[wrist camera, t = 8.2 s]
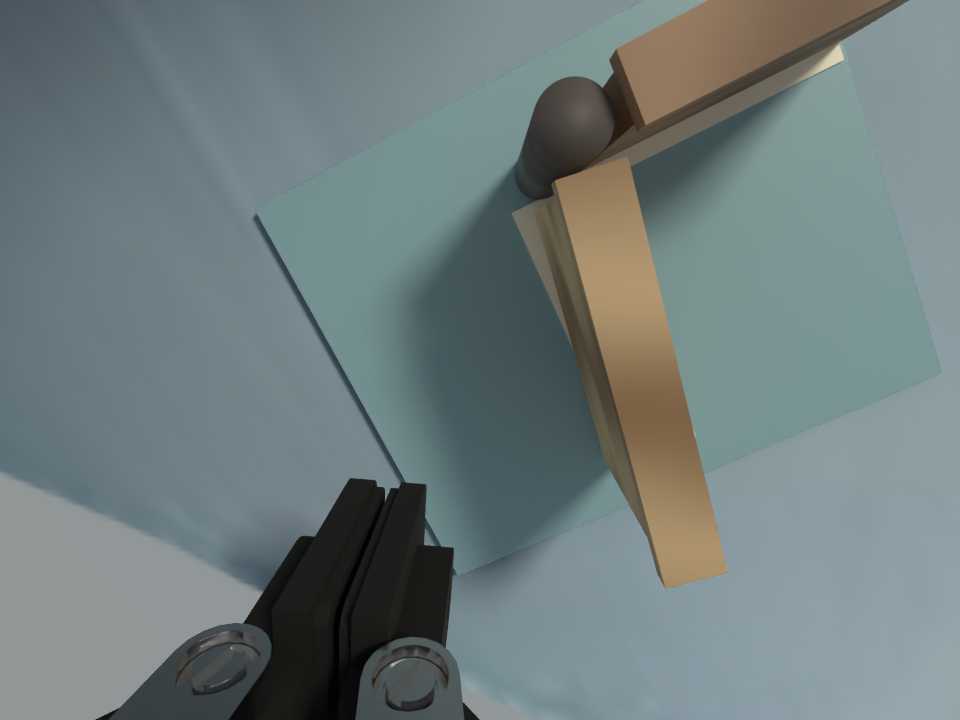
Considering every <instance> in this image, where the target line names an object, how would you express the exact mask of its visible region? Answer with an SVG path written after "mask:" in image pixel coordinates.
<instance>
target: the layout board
mask: <svg viewBox="0 0 960 720" xmlns="http://www.w3.org/2000/svg"><path fill="white" fill-rule="evenodd" d="M706 1H708V0H643V1H642V2H640V3H638V4H636V5H634V6H632V7H630V8H629V9H627V10H625V11H623V12H621V13H619V14H617V15H615V16H614V17H612V18H610V19H608V20H606V21H604V22H602V23H601V24H599V25H597V26H595V27H593V28H591V29H589V30H587V31H586V32H584V33H582V34H580V35H578V36H576V37H574V38H573V39H571V40H569V41H567V42H565V43H563V44H561V45H559V46H558V47H556V48H554V49H552V50H550V51H548V52H546V53H545V54H543V55H541V56H539V57H537V58H535V59H533V60H532V61H530V62H528V63H526V64H524V65H522V66H520V67H518V68H517V69H515V70H513V71H511V72H509V73H507V74H505V75H504V76H502V77H500V78H498V79H496V80H494V81H492V82H490V83H489V84H487V85H485V86H483V87H481V88H479V89H477V90H476V91H474V92H472V93H470V94H468V95H466V96H464V97H462V98H461V99H459V100H457V101H455V102H453V103H451V104H449V105H448V106H446V107H444V108H442V109H440V110H438V111H436V112H434V113H433V114H431V115H429V116H427V117H425V118H423V119H421V120H420V121H418V122H416V123H414V124H412V125H410V126H408V127H406V128H405V129H403V130H401V131H399V132H397V133H395V134H393V135H392V136H390V137H388V138H386V139H384V140H382V141H380V142H379V143H377V144H375V145H373V146H371V147H369V148H367V149H365V150H364V151H362V152H360V153H358V154H356V155H354V156H352V157H351V158H349V159H347V160H345V161H343V162H341V163H339V164H337V165H336V166H334V167H332V168H330V169H328V170H326V171H324V172H323V173H321V174H319V175H317V176H315V177H313V178H311V179H309V180H308V181H306V182H304V183H302V184H300V185H298V186H296V187H295V188H293V189H291V190H289V191H287V192H285V193H283V194H281V195H280V196H278V197H276V198H274V199H272V200H270V201H268V202H267V203H265V204H263V205H261V206H259V207H257V208H255V209H254V210H255V211H256V213H257V215H258V217H259V219H260V220H261V222H262V224H263V226H264V228H265V229H266V231H267V233H268V235H269V237H270V238H271V240H272V242H273V244H274V246H275V247H276V249H277V251H278V253H279V255H280V256H281V258H282V260H283V262H284V264H285V265H286V267H287V269H288V271H289V273H290V274H291V276H292V278H293V280H294V282H295V283H296V285H297V287H298V289H299V291H300V292H301V294H302V296H303V298H304V300H305V301H306V303H307V305H308V307H309V309H310V310H311V312H312V314H313V316H314V318H315V319H316V321H317V323H318V325H319V327H320V328H321V330H322V332H323V334H324V336H325V337H326V339H327V341H328V343H329V345H330V346H331V348H332V350H333V352H334V354H335V355H336V357H337V359H338V361H339V363H340V364H341V366H342V368H343V370H344V372H345V373H346V375H347V377H348V379H349V381H350V382H351V384H352V386H353V388H354V390H355V392H356V393H357V395H358V397H359V399H360V401H361V402H362V404H363V406H364V408H365V410H366V411H367V413H368V415H369V417H370V419H371V420H372V422H373V424H374V426H375V428H376V429H377V431H378V433H379V435H380V437H381V438H382V440H383V442H384V444H385V446H386V447H387V449H388V451H389V453H390V455H391V456H392V458H393V460H394V462H395V464H396V465H397V467H398V469H399V471H400V473H401V474H402V476H403V478H404V480H405V482H406V483H418V484H426V487H427V492H426V513H425V518H426V519H427V521H428V523H429V525H430V527H431V528H432V530H433V532H434V534H435V536H436V537H437V539H438V541H439V543H440V545H441V546H442V547H453V548H454V560H453V568H454V570H455V572H456V573H457V575H458V576H460V575H463V574H465V573H467V572H470V571H472V570H474V569H477V568H479V567H482V566H484V565H486V564H489V563H491V562H493V561H496V560H498V559H501V558H503V557H505V556H508V555H510V554H513V553H515V552H517V551H520V550H522V549H524V548H527V547H529V546H532V545H534V544H536V543H539V542H541V541H544V540H546V539H548V538H551V537H553V536H555V535H558V534H560V533H563V532H565V531H567V530H570V529H572V528H574V527H577V526H579V525H582V524H584V523H586V522H589V521H591V520H594V519H596V518H598V517H601V516H603V515H605V514H608V513H610V512H613V511H615V510H617V509H620V508H622V507H625V506H627V505H629V504H628V502H627V500H626V498H625V496H624V495H623V493H622V491H621V489H620V487H619V486H618V484H617V482H616V480H615V479H614V477H613V475H612V473H611V471H610V470H609V468H608V466H607V464H606V462H605V460H604V456H603V453H602V449H601V446H600V442H599V439H598V435H597V432H596V428H595V424H594V421H593V417H592V414H591V410H590V407H589V403H588V400H587V396H586V393H585V389H584V386H583V382H582V378H581V375H580V371H579V368H578V364H577V361H576V357H575V354H574V350H573V347H572V343H571V340H570V336H569V332H568V329H567V325H566V322H565V318H564V315H563V311H562V308H561V304H560V301H559V297H558V294H557V290H556V287H555V283H554V279H553V276H552V272H551V269H550V265H549V262H548V258H547V255H546V251H545V248H544V244H543V241H542V237H541V233H540V230H539V226H538V223H537V219H536V216H535V213H536V212H538V211H539V210H540V209H541V208H542V207H543V206H545V205H546V204H547V203H548V202H549V201H550V200H552V199H553V198H554V197H555V196H554V195H553V196H551V197H549V198H546V199H539V200H536V199H531V198H529V197H527V196H526V195H524V194H523V193H522V192H521V191H520V189H519V188H518V186H517V183H516V180H515V168H516V165H517V162H518V158H519V155H520V152H521V149H522V146H523V143H524V139H525V136H526V133H527V130H528V127H529V124H530V121H531V117H532V114H533V111H534V108H535V105H536V103H537V101H538V99H539V97H540V96H541V94H542V93H543V92H544V91H545V89H546V88H547V87H549V86H550V85H551V84H552V83H554V82H556V81H558V80H560V79H562V78H566V77H571V76H579V77H585V78H588V79H591V80H593V81H595V82H596V83H598V84H599V85H600V86H601V87H602V88H603V87H604V85H605V84H606V82H607V81H608V79H609V78H610V76H611V75H612V74H613V72H614V71H613V69H612V66H611V64H610V61H609V59H610V58H611V56H612V55H613V53H614V51H615V50H616V49H617V48H619V47H620V46H622V45H624V44H626V43H628V42H630V41H632V40H634V39H636V38H637V37H639V36H641V35H643V34H645V33H647V32H649V31H651V30H653V29H654V28H656V27H658V26H660V25H662V24H664V23H666V22H668V21H670V20H672V19H673V18H675V17H677V16H679V15H681V14H683V13H685V12H687V11H689V10H690V9H692V8H694V7H696V6H698V5H700V4H702V3H704V2H706ZM627 156H628V159H629V163H630V168H631V172H632V176H633V180H634V184H635V188H636V193H637V197H638V201H639V205H640V209H641V213H642V218H643V222H644V226H645V230H646V234H647V238H648V243H649V247H650V251H651V255H652V259H653V264H654V268H655V272H656V276H657V280H658V284H659V289H660V293H661V297H662V301H663V305H664V309H665V314H666V318H667V322H668V326H669V330H670V334H671V339H672V343H673V347H674V351H675V355H676V360H677V364H678V368H679V372H680V376H681V380H682V385H683V389H684V393H685V397H686V401H687V405H688V410H689V414H690V418H691V422H692V426H693V430H694V435H695V439H696V443H697V447H698V451H699V455H700V460H701V464H702V468H703V472H704V473H706V472H708V471H710V470H713V469H715V468H717V467H720V466H722V465H725V464H727V463H729V462H732V461H734V460H736V459H739V458H741V457H744V456H746V455H748V454H751V453H753V452H756V451H758V450H760V449H763V448H765V447H767V446H770V445H772V444H775V443H777V442H779V441H782V440H784V439H787V438H789V437H791V436H794V435H796V434H798V433H801V432H803V431H806V430H808V429H810V428H813V427H815V426H817V425H820V424H822V423H825V422H827V421H829V420H832V419H834V418H837V417H839V416H841V415H844V414H846V413H848V412H851V411H853V410H856V409H858V408H860V407H863V406H865V405H868V404H870V403H872V402H875V401H877V400H879V399H882V398H884V397H887V396H889V395H891V394H894V393H896V392H898V391H901V390H903V389H906V388H908V387H910V386H913V385H915V384H918V383H920V382H922V381H925V380H927V379H929V378H932V377H934V376H937V375H939V374H941V373H942V370H941V367H940V363H939V360H938V357H937V353H936V350H935V347H934V343H933V340H932V337H931V333H930V330H929V327H928V323H927V320H926V317H925V313H924V310H923V307H922V303H921V300H920V297H919V294H918V290H917V287H916V284H915V280H914V277H913V274H912V270H911V267H910V264H909V260H908V257H907V254H906V250H905V247H904V244H903V240H902V237H901V234H900V230H899V227H898V224H897V220H896V217H895V214H894V210H893V207H892V204H891V200H890V197H889V194H888V190H887V187H886V184H885V180H884V177H883V174H882V170H881V167H880V164H879V160H878V157H877V154H876V150H875V147H874V144H873V140H872V137H871V134H870V130H869V127H868V124H867V120H866V117H865V114H864V110H863V107H862V104H861V100H860V97H859V94H858V90H857V87H856V84H855V80H854V77H853V74H852V70H851V67H850V64H849V60H848V57H847V54H846V50H845V47H844V44H843V41H840V42H838V43H836V44H834V45H832V46H830V47H828V48H826V49H824V50H822V51H820V52H818V53H816V54H814V55H812V56H810V57H808V58H806V59H804V60H802V61H800V62H798V63H796V64H794V65H793V66H791V67H789V68H787V69H785V70H783V71H781V72H779V73H777V74H775V75H773V76H771V77H769V78H767V79H765V80H763V81H761V82H759V83H757V84H755V85H753V86H751V87H749V88H747V89H745V90H743V91H741V92H739V93H737V94H735V95H733V96H731V97H729V98H727V99H725V100H723V101H721V102H719V103H717V104H715V105H713V106H711V107H709V108H707V109H705V110H703V111H701V112H699V113H697V114H695V115H693V116H691V117H689V118H687V119H685V120H683V121H681V122H679V123H677V124H675V125H673V126H671V127H669V128H667V129H665V130H663V131H661V132H659V133H657V134H655V135H653V136H651V137H649V138H647V139H645V140H643V141H641V142H640V143H638V144H636V145H634V146H632V147H630V148H628V149H626V150H624V151H622V152H620V153H618V154H616V155H614V156H612V157H610V158H608V159H606V160H604V161H602V162H600V163H598V164H596V165H594V166H592V167H590V168H588V169H591V168H594V167H597V166H600V165H603V164H606V163H609V162H612V161H615V160H618V159H621V158H624V157H627ZM588 169H586V170H588ZM584 171H585V170H584Z"/></svg>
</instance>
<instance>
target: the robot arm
mask: <svg viewBox="0 0 960 720" xmlns="http://www.w3.org/2000/svg"><path fill="white" fill-rule="evenodd" d="M426 492H427V487H426V484H418V483H405V482H401V484H400V487H399V489H397V488H391V489H390V492H389V494H388V496H387V499H386V501H385V489H384V487H377V483H376V480H366V479H353V478H350V479H349V480H348V482H347V484H346V485H345V487H344V489H343V490H342V492H341V494H340V496H339V497H338V499H337V501H336V502H335V504H334V506H333V507H332V509H331V511H330V512H329V514H328V516H327V517H326V519H325V521H324V523H323V524H322V526H321V528H320V529H319V531H318V533H317V534H316V536H315V537H311V536H301V537H300V538H299V539H298V540H297V541H296V543H295V544H294V546H293V547H292V549H291V550H290V552H289V553H288V555H287V556H286V558H285V560H284V561H283V563H282V564H281V566H280V567H279V569H278V570H277V572H276V573H275V575H274V577H273V578H272V580H271V581H270V583H269V584H268V586H267V587H266V589H265V591H264V592H263V594H262V595H261V597H260V598H259V600H258V602H257V603H256V605H255V606H254V608H253V609H252V611H251V612H250V614H249V615H248V617H247V619H246V620H245V622H244V623H243V624H240V623H233V624H226V625H220V626H217V627H214V628H211V629H208V630H205V631H203V632H201V633H199V634H198V635H196V636H194V637H192V638H190V639H189V640H187V641H186V642H185V643H184V644H182V645H181V646H180V647H179V648H178V649H177V650H175V651H174V652H173V653H172V655H170V657H169V658H168V659H167V660H166V661H165V662H164V663H163V664H162V665H161V666H160V667H159V668H158V669H157V670H156V671H155V672H154V673H153V674H152V675H151V676H150V677H149V678H148V679H147V680H146V682H144V683H143V685H141V687H140V688H139V689H138V690H137V691H136V692H135V693H134V694H133V695H132V696H131V697H130V698H129V699H128V700H127V701H126V702H125V703H124V704H123V705H122V706H121V707H120V708H118V709H116V710H114V711H112V712H110V713H108V714H106V715H104V716H102V717H100V718H98V719H96V720H479V719H478V718H477V717H476V715H475V714H474V713H473V712H472V711H471V710H470V709H469V708H468V707H467V706H466V705H465V704H464V703H463V702H462V692H461V682H460V673H459V669H458V666H457V662H456V660H455V659H454V657H453V656H452V654H451V653H450V652H449V650H447V649H446V639H447V630H448V621H449V612H450V601H451V589H452V575H453V560H454V548H453V547H440V546H427V545H424V533H425V513H426Z"/></svg>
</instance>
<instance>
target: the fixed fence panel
mask: <svg viewBox="0 0 960 720" xmlns="http://www.w3.org/2000/svg"><path fill="white" fill-rule="evenodd" d="M907 1H909V0H708V1H706V2H704V3H702V4H700V5H698V6H696V7H694V8H692V9H690V10H689V11H687V12H685V13H683V14H681V15H679V16H677V17H675V18H673V19H672V20H670V21H668V22H666V23H664V24H662V25H660V26H658V27H656V28H654V29H653V30H651V31H649V32H647V33H645V34H643V35H641V36H639V37H637V38H636V39H634V40H632V41H630V42H628V43H626V44H624V45H622V46H620V47H619V48H617V49H616V50H615V51H614V53H613V55H612V56H611V58H610V59H609V61H610V64H611V66H612V69H613V71H614V72H613V74H612V75H611V76H610V78H609V79H608V81H607V82H606V84H605V85H604V87H603V88H602V87H601V86H600V85H599V84H598V83H596V82H595V81H593V80H591V79H588V78H585V77H579V76H571V77H566V78H562V79H560V80H558V81H556V82H554V83H552V84H551V85H550V86H549V87H547V88H546V89H545V91H544V92H543V93H542V94H541V96H540V97H539V99H538V101H537V103H536V105H535V108H534V111H533V114H532V117H531V121H530V124H529V127H528V130H527V133H526V136H525V139H524V143H523V146H522V149H521V152H520V155H519V158H518V162H517V165H516V168H515V180H516V183H517V186H518V188H519V189H520V191H521V192H522V193H523V194H524V195H526V196H527V197H529V198H531V199H536V200H539V199H546V198H549V197H551V196H553V195H554V192H553V189H552V185H551V184H552V183H553V182H554V181H555V180H558V179H561V178H564V177H567V176H570V175H573V174H576V173H579V172H582V171H584V170H586V169H588V168H590V167H592V166H594V165H596V164H598V163H600V162H602V161H604V160H606V159H608V158H610V157H612V156H614V155H616V154H618V153H620V152H622V151H624V150H626V149H628V148H630V147H632V146H634V145H636V144H638V143H640V142H641V141H643V140H645V139H647V138H649V137H651V136H653V135H655V134H657V133H659V132H661V131H663V130H665V129H667V128H669V127H671V126H673V125H675V124H677V123H679V122H681V121H683V120H685V119H687V118H689V117H691V116H693V115H695V114H697V113H699V112H701V111H703V110H705V109H707V108H709V107H711V106H713V105H715V104H717V103H719V102H721V101H723V100H725V99H727V98H729V97H731V96H733V95H735V94H737V93H739V92H741V91H743V90H745V89H747V88H749V87H751V86H753V85H755V84H757V83H759V82H761V81H763V80H765V79H767V78H769V77H771V76H773V75H775V74H777V73H779V72H781V71H783V70H785V69H787V68H789V67H791V66H793V65H794V64H796V63H798V62H800V61H802V60H804V59H806V58H808V57H810V56H812V55H814V54H816V53H818V52H820V51H822V50H824V49H826V48H828V47H830V46H832V45H834V44H836V43H838V42H840V41H842V40H844V39H845V38H847V37H849V36H850V35H852V34H854V33H855V32H857V31H859V30H860V29H862V28H864V27H865V26H867V25H869V24H870V23H872V22H874V21H875V20H877V19H879V18H880V17H882V16H884V15H885V14H887V13H889V12H890V11H892V10H894V9H895V8H897V7H899V6H900V5H902V4H904V3H905V2H907Z"/></svg>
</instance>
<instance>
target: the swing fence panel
mask: <svg viewBox="0 0 960 720" xmlns="http://www.w3.org/2000/svg"><path fill="white" fill-rule="evenodd" d="M551 185H552V189H553V192H554V196H555V197H554V198H553V199H552V200H550V201H549V202H548V203H547V204H546V205H545V206H543V207H542V208H541V209H540V210H539V211H538V212H536V213H535V216H536V219H537V223H538V226H539V230H540V233H541V237H542V241H543V244H544V248H545V251H546V255H547V258H548V262H549V265H550V269H551V272H552V276H553V279H554V283H555V287H556V290H557V294H558V297H559V301H560V304H561V308H562V311H563V315H564V318H565V322H566V325H567V329H568V332H569V336H570V340H571V343H572V347H573V350H574V354H575V357H576V361H577V364H578V368H579V371H580V375H581V378H582V382H583V386H584V389H585V393H586V396H587V400H588V403H589V407H590V410H591V414H592V417H593V421H594V424H595V428H596V432H597V435H598V439H599V442H600V446H601V449H602V453H603V456H604V460H605V462H606V464H607V466H608V468H609V470H610V471H611V473H612V475H613V477H614V479H615V480H616V482H617V484H618V486H619V487H620V489H621V491H622V493H623V495H624V496H625V498H626V500H627V502H628V504H629V505H630V507H631V509H632V511H633V512H634V514H635V516H636V518H637V520H638V521H639V523H640V525H641V527H642V529H643V530H644V532H645V534H646V536H647V537H648V540H649V544H650V548H651V551H652V555H653V559H654V562H655V566H656V570H657V573H658V576H659V577H660V579H661V581H662V583H663V585H664V587H665V589H667V588H670V587H674V586H678V585H682V584H686V583H690V582H694V581H697V580H701V579H705V578H709V577H713V576H717V575H721V574H724V573H728V572H727V568H726V564H725V560H724V556H723V551H722V547H721V543H720V539H719V535H718V531H717V526H716V522H715V518H714V514H713V510H712V506H711V501H710V497H709V493H708V489H707V485H706V481H705V476H704V472H703V468H702V464H701V460H700V455H699V451H698V447H697V443H696V439H695V435H694V430H693V426H692V422H691V418H690V414H689V410H688V405H687V401H686V397H685V393H684V389H683V385H682V380H681V376H680V372H679V368H678V364H677V360H676V355H675V351H674V347H673V343H672V339H671V334H670V330H669V326H668V322H667V318H666V314H665V309H664V305H663V301H662V297H661V293H660V289H659V284H658V280H657V276H656V272H655V268H654V264H653V259H652V255H651V251H650V247H649V243H648V238H647V234H646V230H645V226H644V222H643V218H642V213H641V209H640V205H639V201H638V197H637V193H636V188H635V184H634V180H633V176H632V172H631V168H630V163H629V159H628V156H627V157H624V158H621V159H618V160H615V161H612V162H609V163H606V164H603V165H600V166H597V167H594V168H591V169H588V170H585V171H582V172H579V173H576V174H573V175H570V176H567V177H564V178H561V179H558V180H555V181H554V182H553V183H552V184H551Z"/></svg>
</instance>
